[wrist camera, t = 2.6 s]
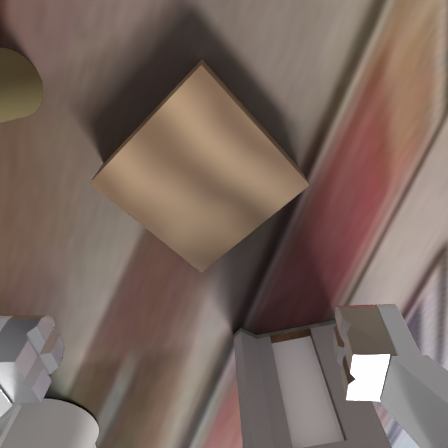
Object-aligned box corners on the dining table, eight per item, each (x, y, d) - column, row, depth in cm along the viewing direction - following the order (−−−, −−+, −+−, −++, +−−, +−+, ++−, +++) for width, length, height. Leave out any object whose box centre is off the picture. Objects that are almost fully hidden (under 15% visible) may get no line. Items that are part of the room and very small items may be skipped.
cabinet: (233, 334, 49) (260, 645, 25) (278, 287, 46) (361, 596, 21) (344, 388, 56) (452, 676, 31) (392, 350, 52) (556, 643, 28)
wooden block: (202, 246, 42) (201, 272, 38) (103, 163, 37) (89, 182, 32) (298, 165, 38) (309, 185, 33) (201, 58, 32) (201, 64, 28)
